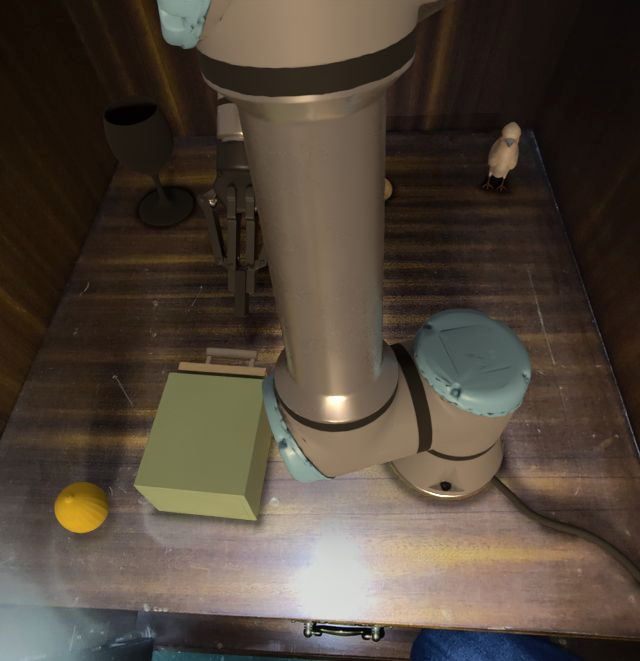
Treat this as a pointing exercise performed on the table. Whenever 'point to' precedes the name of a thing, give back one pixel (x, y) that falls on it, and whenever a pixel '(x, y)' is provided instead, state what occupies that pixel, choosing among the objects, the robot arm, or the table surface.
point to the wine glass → (146, 154)
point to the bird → (504, 153)
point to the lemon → (81, 507)
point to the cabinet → (207, 447)
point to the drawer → (226, 369)
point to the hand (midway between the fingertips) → (241, 315)
